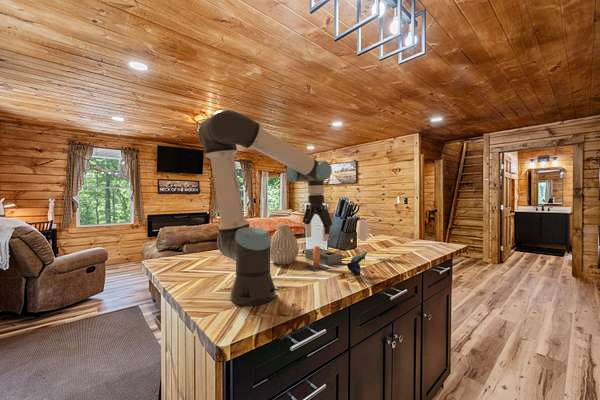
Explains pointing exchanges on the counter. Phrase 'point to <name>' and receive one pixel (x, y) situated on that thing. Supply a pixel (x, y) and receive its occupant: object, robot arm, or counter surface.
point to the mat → (316, 269)
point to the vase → (283, 246)
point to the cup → (363, 229)
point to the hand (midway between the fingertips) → (316, 239)
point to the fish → (356, 263)
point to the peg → (316, 257)
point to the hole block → (325, 257)
